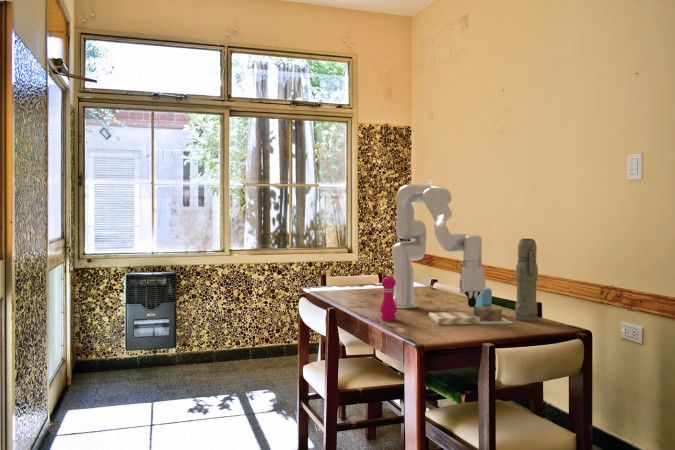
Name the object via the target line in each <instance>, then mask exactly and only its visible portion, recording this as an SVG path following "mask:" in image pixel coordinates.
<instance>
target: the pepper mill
mask: <svg viewBox="0 0 675 450" xmlns="http://www.w3.org/2000/svg"><path fill="white" fill-rule="evenodd" d="M395 285H396V281H395V279H394V277H392V276H391V273H389V272H388V273H387V274H386V276H385V277H383V278H382V279H381V286H382V292H383V298H382V299H383V300H382V302H381V304H380V309H379V311H380V313H381V317H380V318H381V319H380V320H381V321H384V320H388V321H387V322H391V320H394V321H396V319H397V318H396V317H397V316H396V313H397V312H398V308H397V307H396V304H395V301H394V298H393V296H394V286H395Z"/></svg>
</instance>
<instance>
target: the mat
mask: <svg viewBox="0 0 675 450" xmlns="http://www.w3.org/2000/svg"><path fill="white" fill-rule="evenodd" d="M502 324H504V325H505V324H506V325H508V324H509V325H510V324H511V325H512V324H514V323H513V321H510V320H508V319H506V318H503V317H502V321H480V324H479V325H502Z"/></svg>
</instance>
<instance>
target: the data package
mask: <svg viewBox="0 0 675 450" xmlns="http://www.w3.org/2000/svg"><path fill="white" fill-rule="evenodd" d="M492 291H493V290H492V288H491V287H487V286H485V290H484V293H482V294H479V295H478V296H477V298H476V305H475V307H493V306H492V303H493V302H492V299H493V298H492V297H493V294H492V293H493V292H492ZM472 293H473V291H471V294H472ZM471 311H472V312H474V308H473V307H472V308H471Z"/></svg>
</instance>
